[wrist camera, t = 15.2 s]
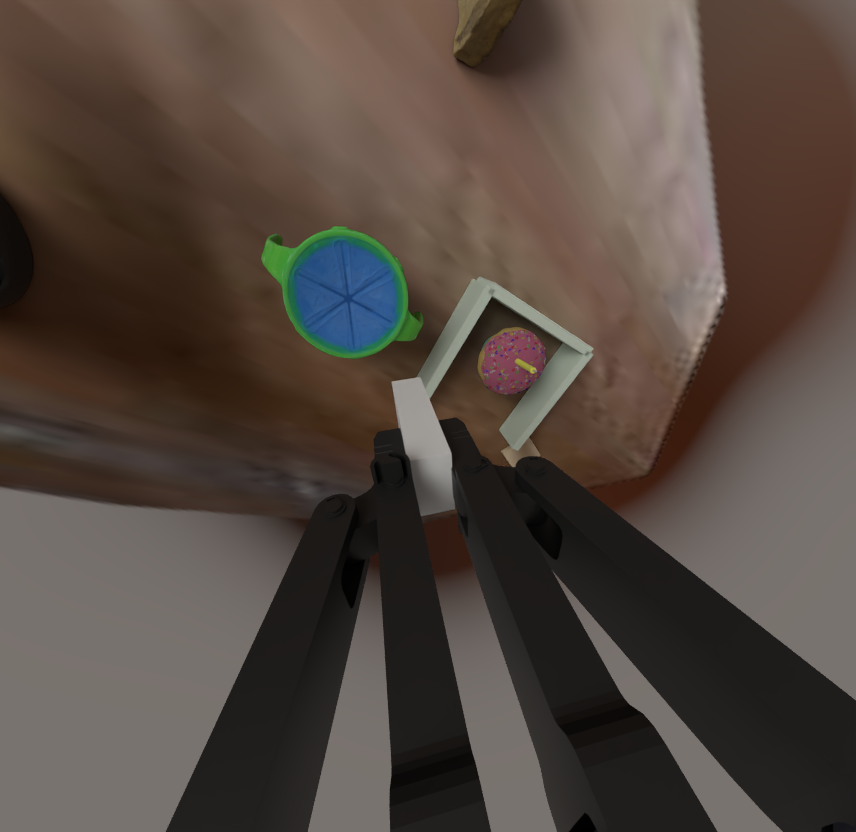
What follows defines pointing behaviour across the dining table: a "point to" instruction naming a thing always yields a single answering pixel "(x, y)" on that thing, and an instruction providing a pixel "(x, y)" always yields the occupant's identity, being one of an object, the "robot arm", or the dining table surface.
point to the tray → (542, 391)
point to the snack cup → (343, 292)
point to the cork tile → (520, 452)
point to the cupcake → (511, 360)
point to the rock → (481, 27)
